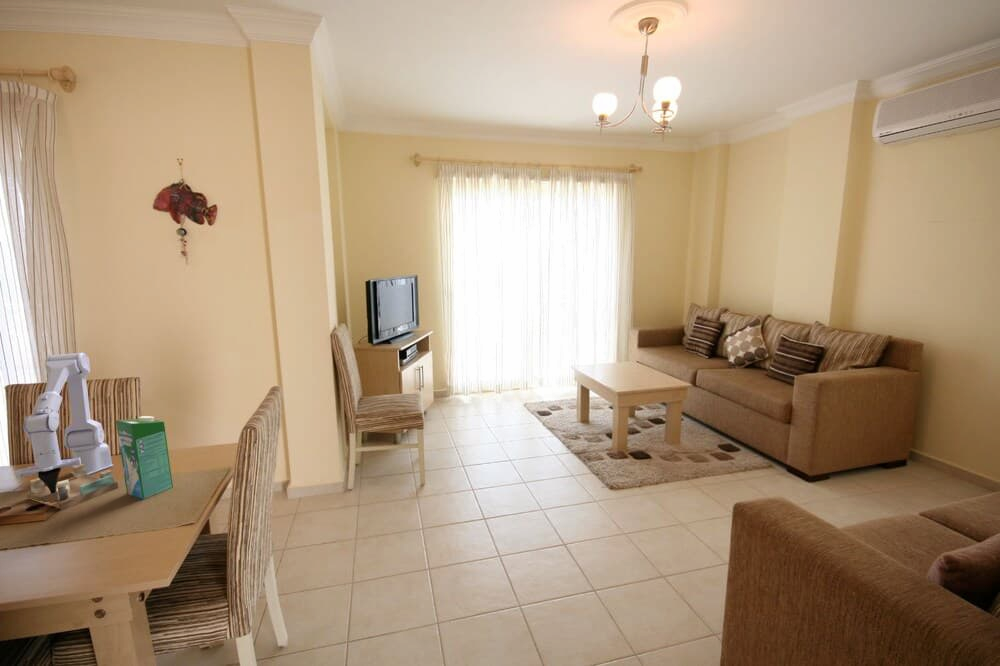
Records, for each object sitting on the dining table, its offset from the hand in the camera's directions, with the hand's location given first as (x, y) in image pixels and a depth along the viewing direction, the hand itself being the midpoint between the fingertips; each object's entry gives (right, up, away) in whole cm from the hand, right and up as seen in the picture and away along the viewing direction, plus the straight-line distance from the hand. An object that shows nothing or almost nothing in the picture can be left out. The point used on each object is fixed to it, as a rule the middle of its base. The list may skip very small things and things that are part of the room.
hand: (53, 492), depth 145 cm
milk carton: (+26, -2, +6) cm, 27 cm away
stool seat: (+2, -2, +5) cm, 6 cm away
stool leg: (+3, -1, 0) cm, 3 cm away
